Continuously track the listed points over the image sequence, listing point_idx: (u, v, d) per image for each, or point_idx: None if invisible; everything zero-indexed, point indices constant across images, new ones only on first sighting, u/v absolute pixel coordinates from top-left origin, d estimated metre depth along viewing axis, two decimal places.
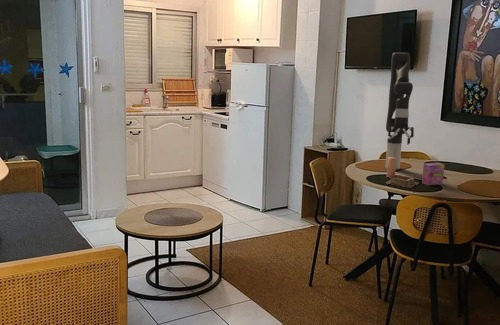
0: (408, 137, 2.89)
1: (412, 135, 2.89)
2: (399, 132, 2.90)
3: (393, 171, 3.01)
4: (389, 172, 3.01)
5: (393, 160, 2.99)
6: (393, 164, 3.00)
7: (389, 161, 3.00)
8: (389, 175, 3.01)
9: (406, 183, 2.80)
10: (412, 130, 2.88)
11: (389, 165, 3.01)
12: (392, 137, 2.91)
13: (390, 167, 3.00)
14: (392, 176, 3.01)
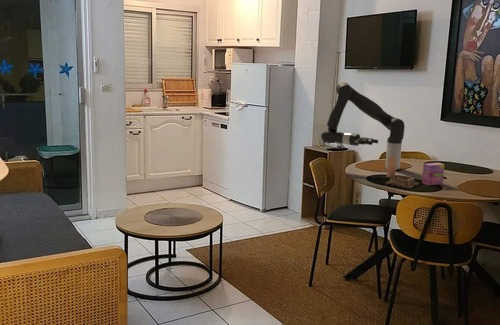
0: (365, 144, 3.06)
1: (362, 144, 3.05)
2: None
3: (393, 171, 3.01)
4: (389, 172, 3.01)
5: (393, 160, 2.99)
6: (393, 164, 3.00)
7: (389, 161, 3.00)
8: (389, 175, 3.01)
9: (406, 183, 2.80)
10: (358, 143, 3.07)
11: (389, 165, 3.01)
12: None
13: (390, 167, 3.00)
14: (392, 176, 3.01)
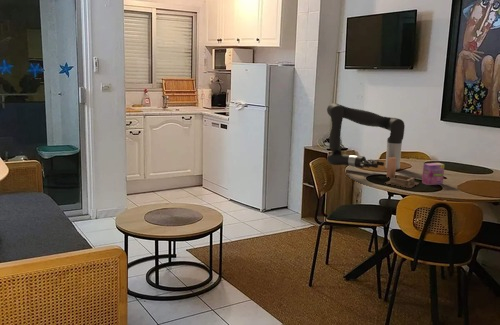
0: (371, 166, 3.06)
1: None
2: None
3: (393, 171, 3.01)
4: (389, 172, 3.01)
5: (393, 160, 2.99)
6: (393, 164, 3.00)
7: (389, 161, 3.00)
8: (389, 175, 3.01)
9: (406, 183, 2.80)
10: None
11: (389, 165, 3.01)
12: (377, 164, 3.13)
13: (390, 166, 3.00)
14: (392, 176, 3.01)
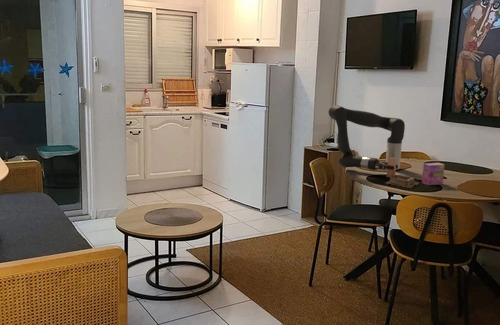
0: (387, 168, 3.01)
1: None
2: None
3: (393, 171, 3.01)
4: (389, 172, 3.01)
5: (393, 160, 2.99)
6: (393, 164, 3.00)
7: (389, 161, 3.00)
8: (389, 175, 3.01)
9: (406, 183, 2.80)
10: None
11: (389, 165, 3.01)
12: None
13: None
14: (392, 176, 3.01)
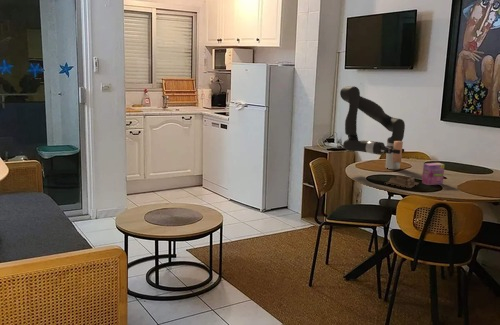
0: (392, 153, 2.91)
1: None
2: None
3: (399, 155, 2.90)
4: (395, 156, 2.91)
5: (399, 144, 2.88)
6: (399, 148, 2.89)
7: (395, 145, 2.90)
8: (395, 159, 2.91)
9: (406, 183, 2.80)
10: None
11: None
12: None
13: None
14: (398, 160, 2.90)
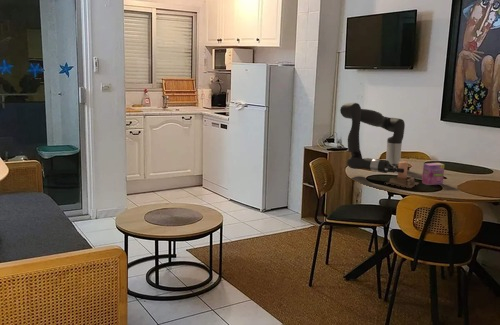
0: (396, 171, 2.84)
1: None
2: None
3: (404, 176, 2.84)
4: (400, 177, 2.85)
5: (404, 165, 2.83)
6: (404, 169, 2.83)
7: (400, 166, 2.84)
8: None
9: (406, 183, 2.80)
10: None
11: None
12: None
13: None
14: None
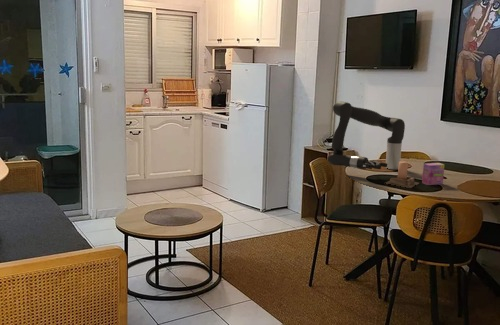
0: (373, 168, 2.92)
1: None
2: None
3: (404, 176, 2.84)
4: (400, 177, 2.85)
5: (404, 165, 2.83)
6: (404, 169, 2.83)
7: (400, 166, 2.84)
8: None
9: (406, 183, 2.80)
10: None
11: (400, 170, 2.84)
12: (380, 166, 2.99)
13: (401, 172, 2.84)
14: None
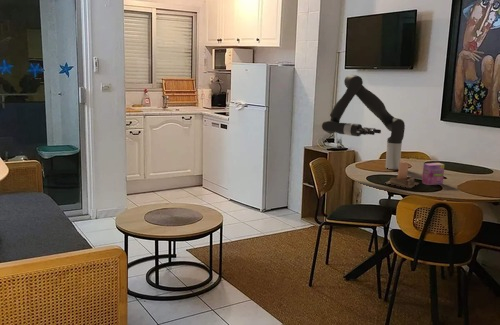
0: (367, 134, 2.94)
1: (364, 134, 2.93)
2: None
3: (405, 176, 2.84)
4: (400, 177, 2.85)
5: (405, 165, 2.82)
6: (405, 169, 2.83)
7: (400, 166, 2.84)
8: None
9: (406, 183, 2.80)
10: (359, 133, 2.95)
11: (400, 170, 2.84)
12: (374, 132, 3.00)
13: (401, 172, 2.84)
14: None
